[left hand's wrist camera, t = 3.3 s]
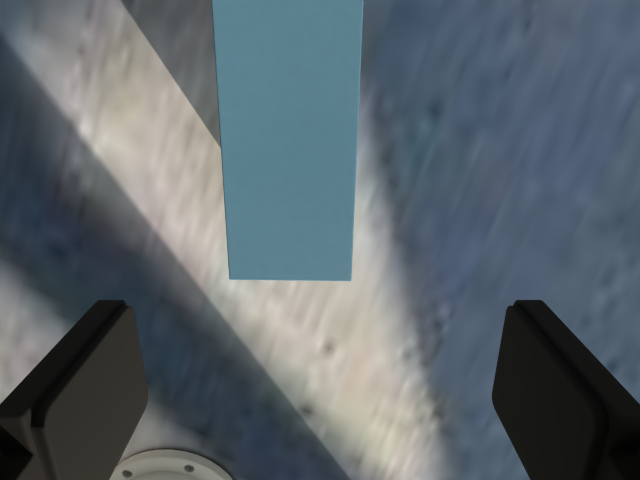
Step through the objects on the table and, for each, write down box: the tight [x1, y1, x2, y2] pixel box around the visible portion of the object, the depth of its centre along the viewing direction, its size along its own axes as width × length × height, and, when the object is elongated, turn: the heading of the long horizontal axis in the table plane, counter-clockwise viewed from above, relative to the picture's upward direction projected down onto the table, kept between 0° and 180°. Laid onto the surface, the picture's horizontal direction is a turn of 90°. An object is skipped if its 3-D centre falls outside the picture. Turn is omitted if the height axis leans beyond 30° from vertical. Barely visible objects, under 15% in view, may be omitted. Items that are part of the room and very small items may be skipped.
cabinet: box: [212, 0, 363, 281], centre depth 23 cm, size 20×6×12 cm, turn 179°
